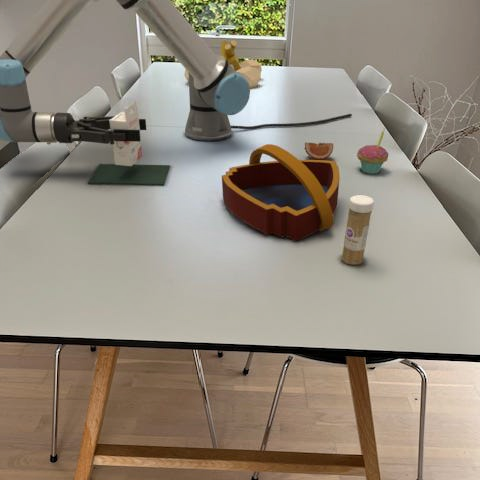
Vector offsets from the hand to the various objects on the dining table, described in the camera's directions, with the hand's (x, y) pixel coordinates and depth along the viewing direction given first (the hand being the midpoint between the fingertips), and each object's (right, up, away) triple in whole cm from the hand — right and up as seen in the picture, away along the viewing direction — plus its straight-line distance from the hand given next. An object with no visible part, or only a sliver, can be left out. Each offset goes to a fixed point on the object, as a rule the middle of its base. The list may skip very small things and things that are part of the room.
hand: (142, 130), depth 140 cm
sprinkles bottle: (+49, -37, -29) cm, 68 cm away
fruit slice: (+49, -2, +20) cm, 53 cm away
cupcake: (+62, -7, +13) cm, 64 cm away
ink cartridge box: (-5, -7, +5) cm, 10 cm away
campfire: (+18, +57, +100) cm, 117 cm away
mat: (-5, -10, +7) cm, 13 cm away
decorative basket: (+36, -23, -9) cm, 43 cm away
